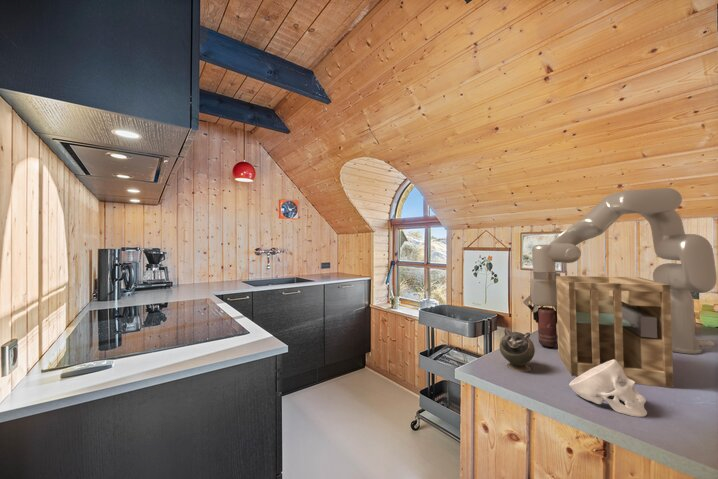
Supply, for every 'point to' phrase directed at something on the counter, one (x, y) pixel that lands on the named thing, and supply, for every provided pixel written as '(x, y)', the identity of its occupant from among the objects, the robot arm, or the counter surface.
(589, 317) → the green chalkboard
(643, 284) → the zigzag grain wooden box
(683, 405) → the counter surface
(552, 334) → the can
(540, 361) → the counter surface
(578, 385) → the skull bowl
